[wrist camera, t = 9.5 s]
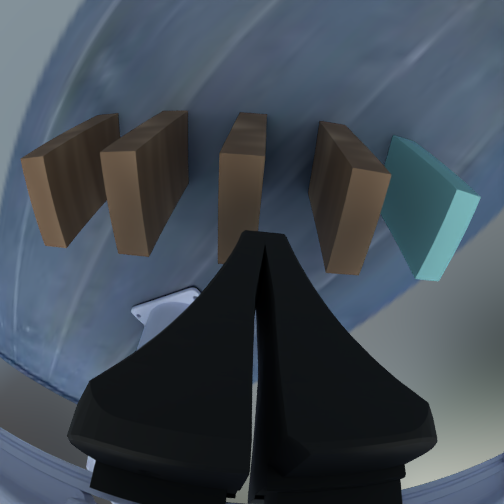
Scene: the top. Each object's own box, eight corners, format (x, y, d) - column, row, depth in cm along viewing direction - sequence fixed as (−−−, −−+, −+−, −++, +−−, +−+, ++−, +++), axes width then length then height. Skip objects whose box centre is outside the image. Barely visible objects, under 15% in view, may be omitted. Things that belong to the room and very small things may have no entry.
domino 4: (344, 125, 16) (391, 174, 10) (331, 195, 19) (358, 275, 13) (319, 120, 16) (353, 167, 10) (308, 192, 19) (325, 272, 13)
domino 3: (267, 114, 16) (264, 156, 10) (260, 188, 19) (254, 266, 13) (240, 112, 16) (219, 153, 10) (235, 186, 19) (217, 263, 13)
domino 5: (413, 140, 16) (480, 197, 10) (392, 205, 19) (438, 281, 13) (392, 134, 16) (456, 189, 10) (373, 201, 19) (414, 278, 13)
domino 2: (187, 110, 16) (135, 150, 10) (188, 183, 19) (149, 256, 13) (163, 111, 16) (99, 152, 10) (166, 182, 19) (118, 253, 13)
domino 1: (118, 113, 16) (42, 156, 10) (124, 180, 19) (66, 248, 13) (98, 115, 16) (20, 158, 10) (105, 180, 19) (45, 245, 13)
